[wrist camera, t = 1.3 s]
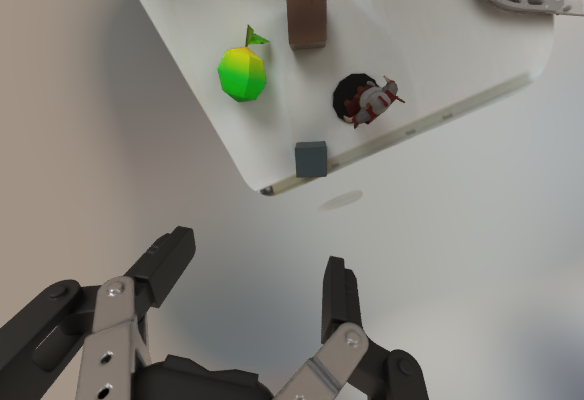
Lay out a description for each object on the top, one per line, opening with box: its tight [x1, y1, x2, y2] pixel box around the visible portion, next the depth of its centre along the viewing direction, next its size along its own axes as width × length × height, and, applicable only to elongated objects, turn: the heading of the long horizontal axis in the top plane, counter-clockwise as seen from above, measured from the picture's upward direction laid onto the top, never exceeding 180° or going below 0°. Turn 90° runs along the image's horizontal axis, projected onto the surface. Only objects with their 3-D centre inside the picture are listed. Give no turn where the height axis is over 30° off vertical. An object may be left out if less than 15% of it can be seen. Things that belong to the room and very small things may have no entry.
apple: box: [217, 25, 269, 102], centre depth 30 cm, size 7×6×9 cm
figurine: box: [333, 74, 405, 129], centre depth 27 cm, size 7×7×15 cm
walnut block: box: [287, 0, 327, 50], centre depth 28 cm, size 4×4×4 cm
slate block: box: [295, 141, 327, 178], centre depth 35 cm, size 4×4×4 cm
